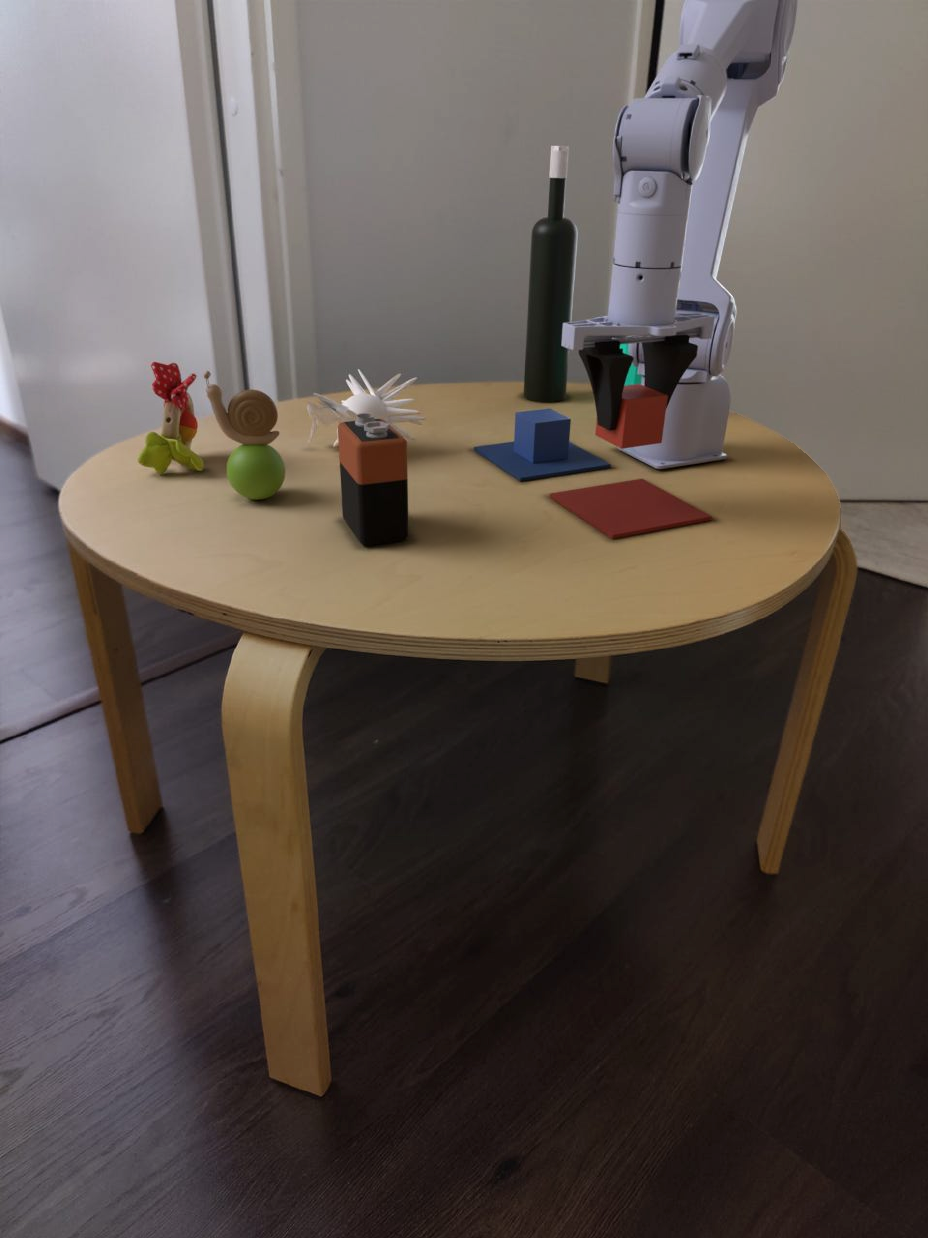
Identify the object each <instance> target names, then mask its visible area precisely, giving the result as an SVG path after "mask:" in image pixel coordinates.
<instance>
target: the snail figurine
mask: <svg viewBox="0 0 928 1238" xmlns="http://www.w3.org/2000/svg"><path fill="white" fill-rule="evenodd" d="M211 376H212V374H211V372H210V370H205V371H204V373H203V378H204V379H205V382H206V388H205V392H206V397H207V399H208V400H209V402H210V404H211V409H212V412H213V415H214V417H215V421H216V422H217V424H218V427H219V428H220V429H221V431H222V433H223V434H224V435H225V436H226V437H227V438H229V439H230V440H232V441H234V442H236V443H238V444H240V445H239V446H237V447H236V448H235V449H234V450H233V451H232V452H231V453H230V455H229V457H228V459H227V462H226V476H227V480H228V482H229V484H230V486H231V487H232V488H233V490H234V491H235V492H236V493H237V494H239V495H240V496H242V497H244V498H246V499H250V500H258V501H259V500H265V499H268V498H270V497H272V496H274V495H275V494H276V493H277V492H278V491H280V489H281V487H282V486H283V484H284V481H285V478H286V466H285V462H284V460H283V458H282V456H281V454H280V453H279V451H277V450H276V449H275V448H274V447H273V446H271V445H270V444H271V443H273V442H274V441H275V440H276V439H277V438H278V437H279V436H280V433H281V432H280V431H279V430H273V429H274V428H275V426H276V425H277V422H278V418H279V414H278V408H277V406H276V403H275V402H274V400H273V399H272V398H271V396H269V395H268V394H266V393H265V392H263V391H261V390H258V389H251V388H250V389H244V390H241V391H238V392H237V393H236V394H235V395H234V396H233V397H232V398H231V399H230V401H229V403H228V405H227V409H226V406H225V403H224V401H223V398H222V397H223V390H222V388H221V387H220V386H219V385H217V384H214V383H212V384H210V382H209V379H210V377H211Z"/></svg>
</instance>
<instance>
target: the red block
mask: <svg viewBox="0 0 928 1238" xmlns="http://www.w3.org/2000/svg"><path fill="white" fill-rule="evenodd" d="M667 399H668V395H666V394H663V393H661V392H658V391H656V390H653V389H651V388H648V387H645V386H643V385H640V384H634V385H625V386H624V389H623V393H622V399H621V408H620V414H619V419H618V423H617V427H616V430H607V429H605V428H603V427H601V426H599V425H598V421H597V420H596V422H595V433H594V435H595V436H596V437H598V438H600V439H602V440H604V441H605V442H608V443H610V444H612V445H613V446H615V447H616V448H617V447H619V448H621V449H623V448H631V447H638V446H645V445H652V444H659V443H662V436H663V429H664V421H665V414H666V406H667Z"/></svg>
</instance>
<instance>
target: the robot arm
mask: <svg viewBox="0 0 928 1238" xmlns="http://www.w3.org/2000/svg"><path fill="white" fill-rule="evenodd" d="M797 12H798V0H684V2H683V5H682V9H681V15H680V20H679V21H680V22H679V31H678V49H677V50H675V51H674V52H672V54H671V55H670V56H668V58H667V59H666V60H665V62H664V63H663V65H662V67H661V68H660V70H659V72H658V73H657V75H656V77H654V80H653V82H652V83H651V85H650V87H649V88H648V90H647V91H646V93H645V95H644V97H635V98H634V99H633V100H632V101H631V102H630V104H629V105H624V106H623V107H622V108H621V109H620V111H619V114H618V116H617V119H616V123H615V128H614V134H613V136H614V137H613V141H612V164H613V172H614V182H613V183H614V184H613V197H614V198H613V201H614V203H616V204H618V205H617V215H616V225H615V235H614V245H613V257H612V267H611V279H610V290H609V300H608V309H607V315H604V316H600V317H593V318H587V319H584V320H577V321H571V322H568V323H563V330H562V344H561V346H563V347H565V348H568V349H569V350H571V351H573V352H574V351H578V356H579V357H580V360H581V362H582V364H583V367H584V368H585V371H586V373H587V376H588V379H589V382H590V386H591V390H592V394H593V395H592V396H593V400H594V405H595V412H596V422H597V421H598V425H599V426H601V427H603V428H605V429H607V430H616V427H617V423H618V419H619V414H620V408H621V399H622V393H623V389H624V385H625V381H626V378H627V375H628V372H629V369H630V366H631V364H632V363H633V365H634V366H635V367H638V375H642V380H641V385H643V386H645V387H648V388H651V389H653V390H656V391H658V392H661V393H663V394H666V395H668V399H667V406H666V414H665V421H664V429H663V436H662V443H659V444H652V445H645V446H638V447H631V448H623V449H621V448H619V447H617V446H616V448H617V450H619V451H621V452H623V453H624V454H627V455H629V456H631V457H633V458H635V459H637V460H638V461H641V462H642V463H645V464H647V465H649V466H651V468H654V469H655V470H656V469H657V470H665V469H671V468H677V467H684V466H689V465H696V464H702V463H703V464H704V463H709V462H715V461H721V460H726V459H727V457H728V454H727V453H725V452H723V450H724V444H725V438H726V432H727V427H728V420H729V415H730V410H731V409H730V408H731V402H732V401H731V398H732V397H731V390H730V387H729V383H728V381H727V380H726V379H725V378H724V376H722V375H721V374H722V373H724V371H725V370H726V368H727V365H728V362H729V360H730V356H731V352H732V347H733V341H734V335H735V323H736V318H737V313H738V311H737V304H736V302H735V301H736V300H735V298H734V296H733V295H732V293H731V292H730V291H728V290H727V288H726V287H724V285H722V283H720V281H718V280H717V277H718V273H719V268H720V263H721V259H722V254H723V251H724V245H725V241H726V237H727V232H728V227H729V223H730V219H731V213H732V209H733V205H734V200H735V197H736V193H737V186H738V183H739V178H740V173H741V170H742V169H741V168H742V164H743V159H744V155H745V150H746V146H747V143H748V138H749V135H750V131H751V128H752V126H753V124H754V121H755V118H756V115H757V113H758V110H759V108H760V107H761V106H763V105H765V104H766V103H768V102H770V101H771V100H773V99H775V98H776V97H777V96H778V94H779V89H780V85H781V84H782V83H783V81H784V77H785V74H786V68H787V64H788V60H789V54H790V51H791V46H792V41H793V36H794V33H795V27H796V20H797ZM620 344H629V355H627V354H625V353H623V349H622V348H621V349H620Z"/></svg>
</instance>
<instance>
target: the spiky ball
mask: <svg viewBox="0 0 928 1238" xmlns="http://www.w3.org/2000/svg"><path fill="white" fill-rule="evenodd" d="M357 372H358V373H359V375H360V377H361V379H362V381H363V382H364V384H365V386H366V388H367V390H368V392H369V393H367V392H366V391H365V390H364V388H363V387H362V386H361V384H360V383H359V382H358V381H357V379H356V378H355V377H353V375H352V374H350V373H349V374H348V378H349V379H345V382H346V384H347V386H348V387H349V389H350V391H351V392H352V394H353V395H352V396H350V397H348V398H347V399H346V400H345V399H344V400H341V403H339V402H337V401H335V400H333V399H330V398H328V397H326V396H324V395H322V394H319V393H316V392H314V393H313V396H314V397H315V398H317V399H318V400H319V401H317V403H318V404H319V405H320V406H319V405H317V404H315V403H313V402H311V401H307V403H308V404H307V405H306V409H307V412H308V415H309V417H310V419H311V429H310V434H309V438H308V441H307V444H311V442H312V440H313V438H314V436H315V434H316V432H317V431H318V427H319V422H320V423H321V424H322V425H323V426H324V427H326V428H328V427H331V426H334V425H335V424H340V423H341V422H348V421H356V415H357V414H361V413H370V414H373V415H374V419H383V420H385V421H386V422H387V423H388V424H389V425H390V426H391V427H392V428H394V429H395V430H396V431H397V432H398V433H399V434H400V435H401V436H402V437H403V438H404V439H408V440H412V441H413V440H415V439H416V438H415V436H413V435H411V434H410V433H408V432H407V431H405V430H403V429H402V428H400V427H398V426H397V425H395V424H398V423H411V424H416V425H420V426H422V425H423V424H422V423H421V422H420V421H424V420H426V419H427V417H425V416H418V415H419V414H421V411H419V410H417V409H416V410H415V409H407V408H399V407H402V406H406V405H408V404H410V403H413V402H415V398H402V399H395V398H396V397H397V396H398V395H399V394H401V393H402V392H403V391H404V390H406V389H407V388H408V387H409V386H411V385H412V384H413V383H415V382H416V380H418V377H413V378H411V379H409V380H407V381H405V382H403V383H402V384H400V385H398V386H397V387H395V388H393V389H391V390H390V391H388V390H389V389H390V388H391V387H392V386H393V385H394V384H395V383H396V382H397V380H398V379H399V378H400V377H401V376H402V374H401V373H398V374H396V375H395V376H393V377H392V378H391V379H390V380H388V381H387V382H386V383H384V384H383V385H382V386H381V387H380V388H379V389H377V390H376V391H375V389H374V388H373V386H372V385H371V384H370V382H369V380H368V379H367V378H366V376H365V375H364V373H363V372H362V371H361V370H360V369H359V368H357ZM387 391H388V392H387ZM336 435H337V436H336V437H337V438H336V440H335V441H334V443H333V445H332V446H333V448H334V447H335V448H336V447H337V446H339V440H338V427H337V428H336Z"/></svg>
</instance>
